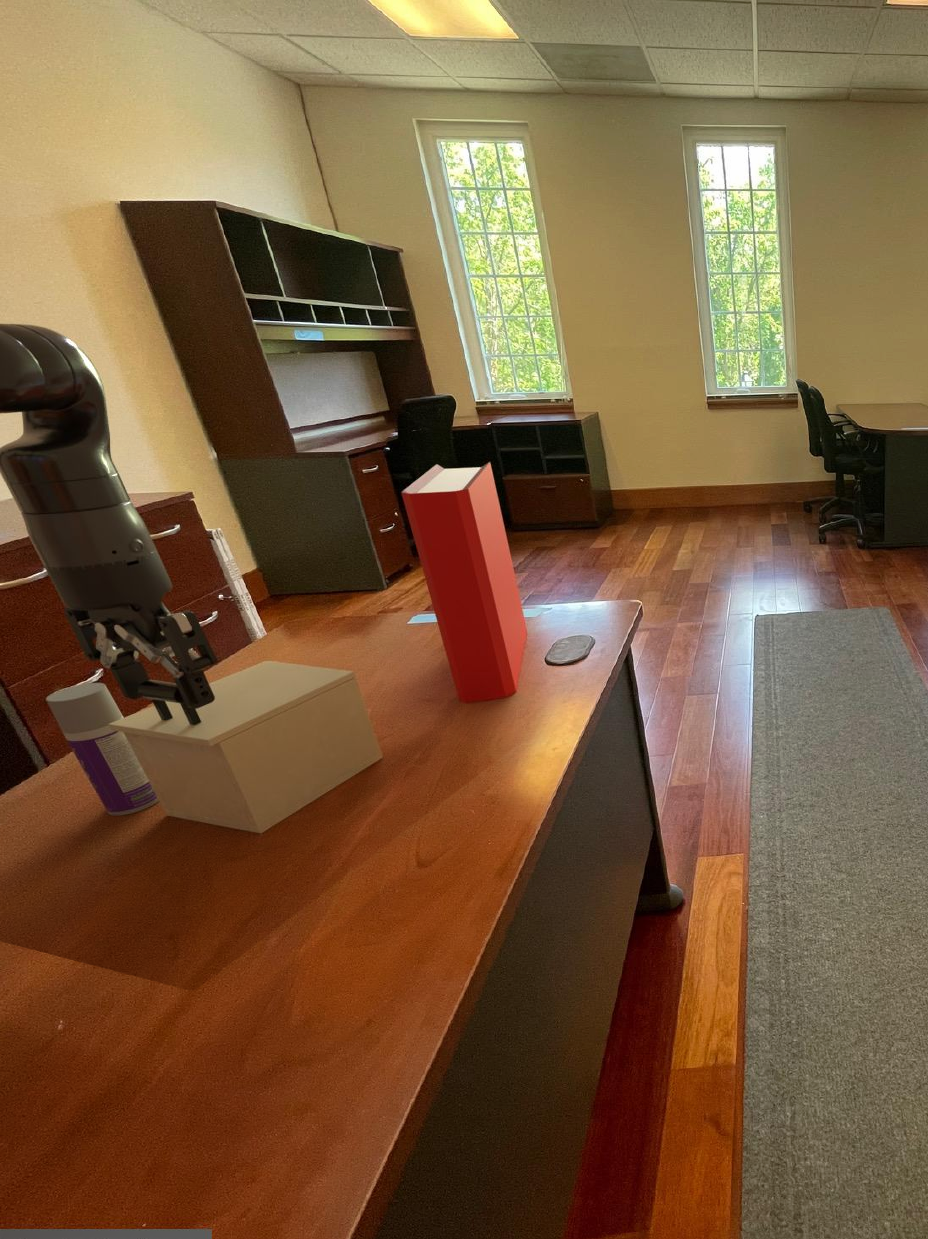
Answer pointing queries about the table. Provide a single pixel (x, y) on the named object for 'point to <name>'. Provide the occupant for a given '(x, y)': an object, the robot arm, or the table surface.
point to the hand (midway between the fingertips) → (171, 700)
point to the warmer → (263, 763)
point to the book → (469, 578)
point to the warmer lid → (229, 702)
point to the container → (102, 747)
